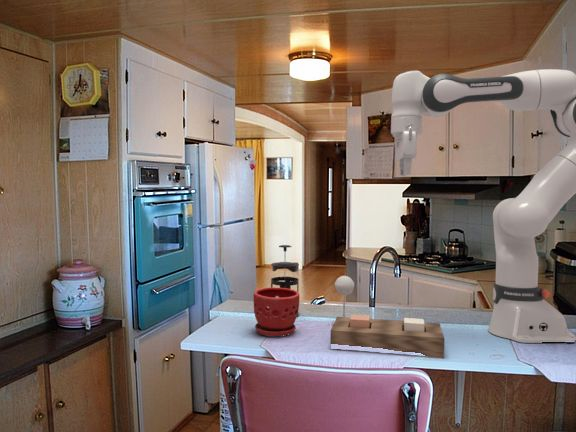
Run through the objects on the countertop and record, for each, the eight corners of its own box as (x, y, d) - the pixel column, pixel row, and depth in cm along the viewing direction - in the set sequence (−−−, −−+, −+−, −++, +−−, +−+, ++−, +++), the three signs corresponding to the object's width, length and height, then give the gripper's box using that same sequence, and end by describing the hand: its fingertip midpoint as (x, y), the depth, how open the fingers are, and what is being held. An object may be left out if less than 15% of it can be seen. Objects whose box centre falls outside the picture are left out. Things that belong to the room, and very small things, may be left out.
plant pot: (245, 336, 138) (246, 294, 138) (264, 324, 151) (264, 285, 150) (289, 342, 134) (290, 298, 133) (305, 329, 146) (305, 289, 145)
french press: (296, 320, 156) (297, 247, 154) (267, 319, 157) (267, 246, 156) (301, 311, 167) (302, 243, 166) (274, 310, 169) (274, 242, 167)
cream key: (423, 332, 132) (423, 319, 132) (424, 337, 127) (424, 323, 127) (403, 330, 133) (404, 317, 133) (404, 336, 128) (404, 322, 128)
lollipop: (340, 328, 147) (341, 278, 146) (330, 323, 152) (330, 275, 151) (357, 326, 150) (358, 276, 149) (346, 321, 155) (347, 273, 154)
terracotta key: (369, 328, 135) (370, 315, 135) (368, 333, 130) (369, 320, 130) (351, 327, 136) (351, 314, 136) (349, 332, 131) (349, 319, 131)
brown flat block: (439, 341, 136) (439, 323, 135) (443, 358, 122) (444, 338, 122) (336, 333, 141) (336, 316, 141) (330, 349, 128) (330, 330, 128)
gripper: (422, 123, 135) (421, 174, 136) (412, 131, 155) (411, 176, 156) (399, 123, 136) (397, 174, 136) (392, 131, 156) (391, 175, 157)
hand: (405, 175), depth 146 cm, fingers open, 8 cm apart
